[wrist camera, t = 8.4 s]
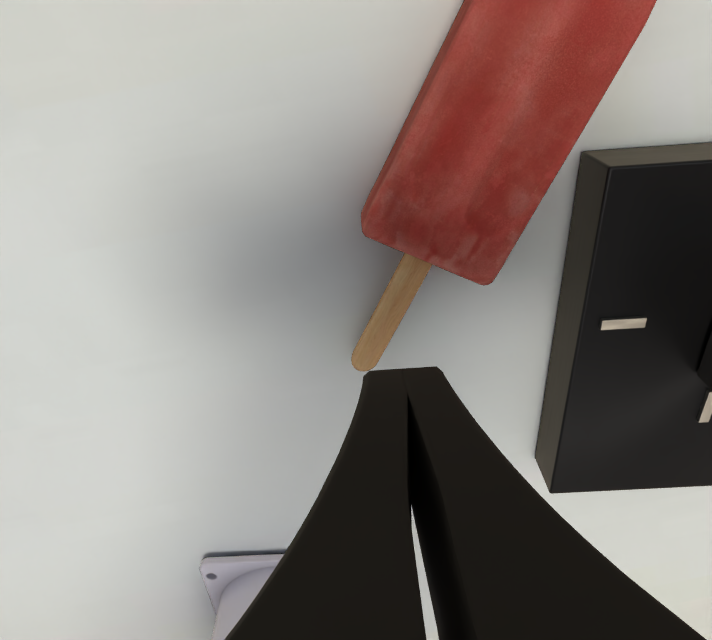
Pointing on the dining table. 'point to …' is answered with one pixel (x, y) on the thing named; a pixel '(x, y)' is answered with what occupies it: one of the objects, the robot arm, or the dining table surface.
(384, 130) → the dining table surface
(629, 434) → the knob box
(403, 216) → the popsicle
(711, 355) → the knob
